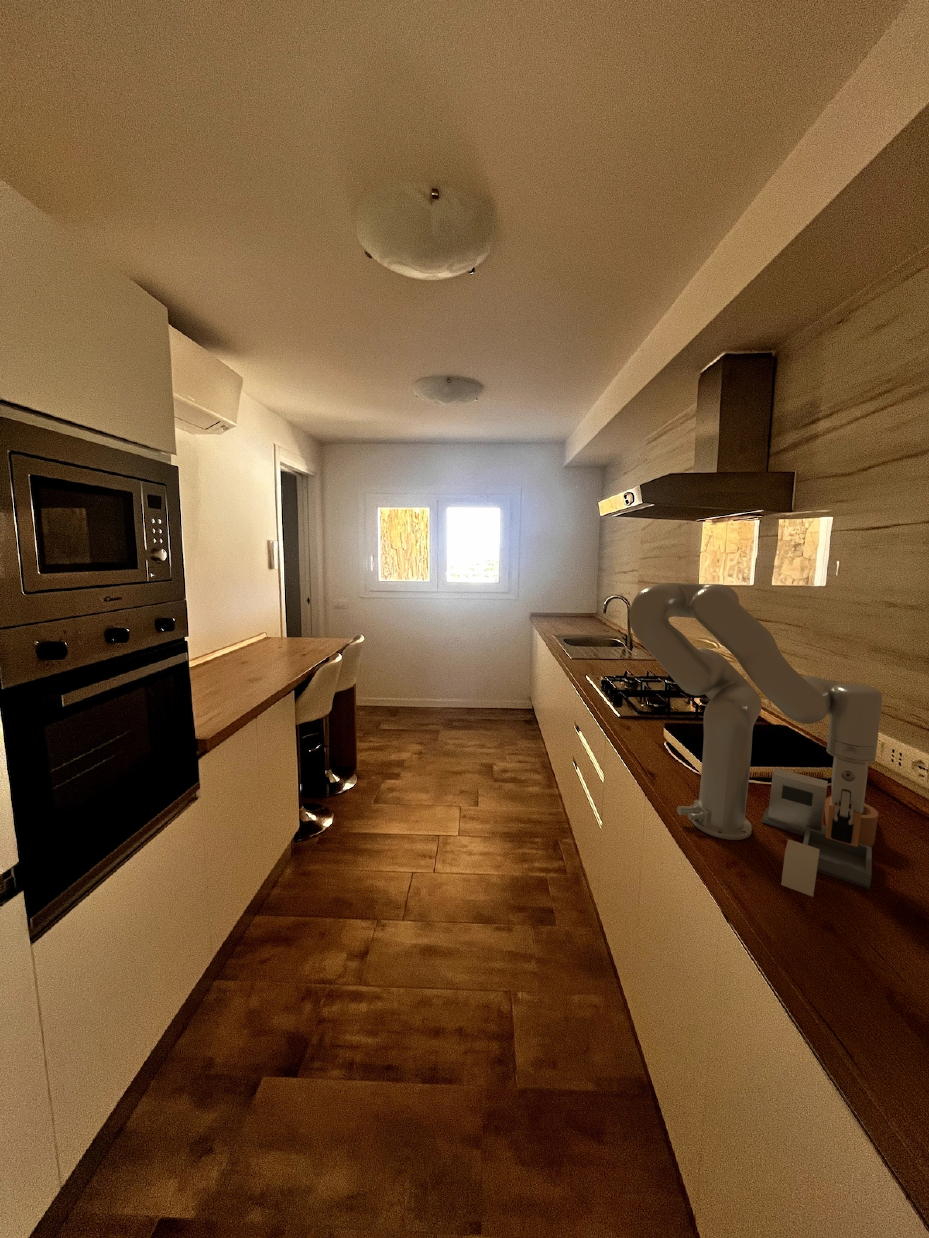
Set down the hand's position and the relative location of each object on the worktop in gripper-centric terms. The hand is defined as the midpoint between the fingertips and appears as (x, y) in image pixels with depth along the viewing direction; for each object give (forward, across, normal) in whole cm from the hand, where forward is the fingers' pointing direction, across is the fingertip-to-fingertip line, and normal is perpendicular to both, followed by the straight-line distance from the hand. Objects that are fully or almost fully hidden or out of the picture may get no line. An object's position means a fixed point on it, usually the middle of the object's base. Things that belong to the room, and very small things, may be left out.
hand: (841, 833), depth 98 cm
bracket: (+7, +19, -1) cm, 20 cm away
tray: (+7, 0, +1) cm, 7 cm away
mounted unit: (+7, +10, +9) cm, 15 cm away
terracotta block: (+1, 0, 0) cm, 1 cm away
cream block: (+7, -12, +6) cm, 15 cm away
